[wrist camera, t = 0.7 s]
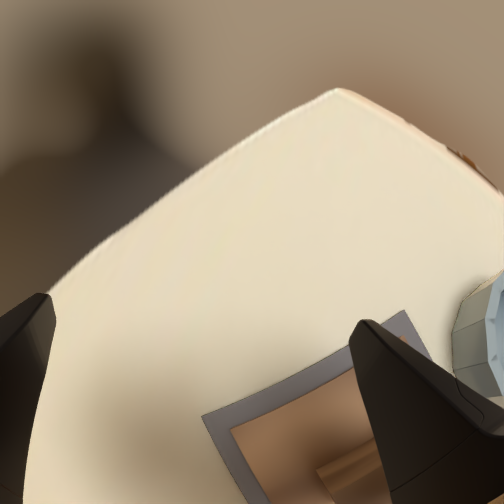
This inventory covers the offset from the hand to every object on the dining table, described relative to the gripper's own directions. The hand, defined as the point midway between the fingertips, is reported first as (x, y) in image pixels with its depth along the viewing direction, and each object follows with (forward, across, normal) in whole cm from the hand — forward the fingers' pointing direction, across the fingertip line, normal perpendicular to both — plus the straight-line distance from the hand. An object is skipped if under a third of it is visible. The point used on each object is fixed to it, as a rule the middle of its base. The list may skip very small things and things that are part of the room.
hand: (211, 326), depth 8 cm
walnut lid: (-1, -11, +12) cm, 16 cm away
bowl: (+2, -24, +5) cm, 25 cm away
